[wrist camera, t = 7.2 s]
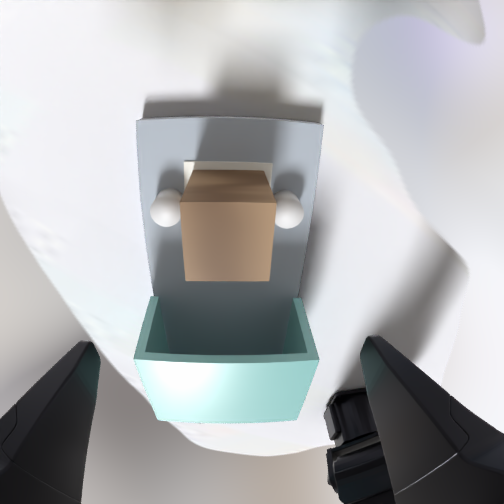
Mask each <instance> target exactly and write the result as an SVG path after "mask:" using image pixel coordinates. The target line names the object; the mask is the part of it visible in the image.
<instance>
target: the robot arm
mask: <svg viewBox="0 0 504 504" xmlns="http://www.w3.org/2000/svg"><path fill="white" fill-rule="evenodd" d="M360 359H361V364H362V369H363V374H364V379H365V385H366V388H365V389H359V390H353V391H346V392H339V393H336V394H335V395H334V397H333V399H332V401H331V403H330V405H329V406H328V408H327V410H326V412H325V414H324V419H325V421H326V425H327V429H328V433H329V437H330V440H334V441H335V445H336V447H335V448H330V449H327V454H326V456H327V464H328V484H329V485H331V486H332V487H333V489H334V491H335V492H336V493H338V495H339V499H340V501H341V502H343V503H344V504H504V434H503V433H501V432H500V431H498V430H496V429H495V428H494V427H493V426H491V425H490V424H488V423H487V422H485V421H484V420H482V419H481V418H479V417H478V416H477V415H475V414H474V413H473V412H471V411H470V410H468V409H467V408H466V407H464V406H463V405H462V404H461V403H459V402H458V401H457V400H456V399H455V398H454V397H453V396H450V394H449V393H448V392H447V391H445V390H444V389H443V388H442V387H441V386H440V385H438V384H437V383H436V382H435V381H434V380H432V379H431V378H430V377H429V376H428V375H427V374H425V373H424V372H423V371H422V370H421V369H419V368H418V367H417V366H416V365H415V364H413V363H412V362H411V361H410V360H409V359H407V358H406V357H405V356H404V355H403V354H401V353H400V352H399V351H398V350H397V349H395V348H394V347H393V346H392V345H391V344H389V343H388V342H387V341H386V340H385V339H383V338H382V337H381V336H379V335H373V336H368V337H367V338H366V340H365V343H364V345H363V347H362V350H361V353H360ZM100 363H101V362H100V356H99V354H98V352H97V350H96V348H95V346H94V344H93V343H92V342H91V341H84V340H82V341H80V342H78V343H77V344H76V345H75V346H74V347H73V348H72V349H71V350H70V351H69V352H68V353H67V354H66V355H65V356H63V357H62V358H61V359H60V360H59V361H58V362H57V363H56V364H55V365H54V366H53V367H52V368H51V369H50V370H49V371H48V372H47V373H46V374H45V375H44V376H43V377H41V378H40V380H39V381H37V382H36V383H35V384H34V385H33V387H31V388H30V389H29V390H28V391H27V392H26V394H25V395H24V396H23V397H21V398H20V399H19V400H18V401H17V403H16V404H14V405H13V406H12V407H11V408H10V410H8V412H7V413H6V414H5V415H3V416H2V418H0V504H81V498H82V486H83V478H84V470H85V462H86V455H87V448H88V443H89V437H90V431H91V425H92V419H93V415H94V410H95V405H96V398H97V388H98V379H99V371H100Z"/></svg>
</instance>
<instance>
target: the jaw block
mask: <svg viewBox="0 0 504 504" xmlns="http://www.w3.org/2000/svg"><path fill="white" fill-rule="evenodd" d="M276 205H277V203H276V200H275V198H274V195H273V192H272V190H271V187H270V185H269V182H268V180H267V177H266V175H265V172H264V171H261V170H193V171H192V174H191V176H190V178H189V181H188V183H187V185H186V188H185V190H184V193H183V195H182V198H181V200H180V217H181V232H182V246H183V258H184V270H185V280H186V281H269V279H270V269H271V259H272V248H273V238H274V227H275V216H276Z"/></svg>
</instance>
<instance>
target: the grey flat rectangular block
mask: <svg viewBox="0 0 504 504" xmlns="http://www.w3.org/2000/svg"><path fill="white" fill-rule="evenodd" d="M323 128H324V125H322V124H320V123H317V122H308V121H298V120H287V119H275V118H259V117H235V116H182V117H158V118H143V119H140V120H137V121H136V135H137V156H138V172H139V185H140V197H141V207H142V217H143V225H144V234H145V241H146V249H147V256H148V263H149V269H150V276H151V282H152V288H153V293H154V296H156V297H159V301H160V307H161V312H162V318H163V323H164V328H165V333H166V338H167V343H168V348H169V352H170V354H187V355H274V354H282V352H283V347H284V342H285V337H286V332H287V327H288V322H289V316H290V311H291V306H292V300H293V298H298V293H299V288H300V283H301V277H302V272H303V266H304V260H305V255H306V249H307V243H308V237H309V230H310V224H311V218H312V211H313V205H314V198H315V191H316V184H317V176H318V169H319V161H320V153H321V145H322V137H323ZM193 170H261V171H264V172H265V175H266V177H267V180H268V182H269V185H270V187H271V190H272V192H273V195H274V198H275V200H276V203H277V205H276V216H275V227H274V238H273V248H272V259H271V269H270V279H269V281H186V280H185V270H184V258H183V246H182V232H181V217H180V200H181V198H182V195H183V193H184V190H185V188H186V185H187V183H188V181H189V178H190V176H191V174H192V171H193Z"/></svg>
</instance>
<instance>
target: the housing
mask: <svg viewBox="0 0 504 504" xmlns="http://www.w3.org/2000/svg"><path fill="white" fill-rule="evenodd" d="M134 362H135V365H136V367H137V370H138V373H139V375H140V378H141V381H142V383H143V386H144V388H145V391H146V393H147V396H148V398H149V401H150V403H151V405H152V408H153V410H154V412H155V414H156V417H157V419H158V420H162V421H174V422H191V423H261V422H278V421H291V420H297V418H298V415H299V413H300V410H301V408H302V405H303V403H304V400H305V398H306V395H307V392H308V390H309V387H310V385H311V382H312V379H313V376H314V374H315V371H316V368H317V365H318V362H319V357H318V353H317V350H316V346H315V343H314V339H313V336H312V333H311V329H310V326H309V322H308V319H307V316H306V312H305V309H304V306H303V303H302V299H301V298H293V300H292V306H291V311H290V316H289V322H288V327H287V332H286V337H285V342H284V347H283V352H282V354H274V355H187V354H170V352H169V348H168V343H167V338H166V333H165V328H164V323H163V318H162V312H161V307H160V301H159V297H156V296H151V297H150V301H149V304H148V307H147V311H146V314H145V318H144V321H143V325H142V329H141V332H140V336H139V340H138V343H137V347H136V351H135V355H134Z"/></svg>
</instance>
